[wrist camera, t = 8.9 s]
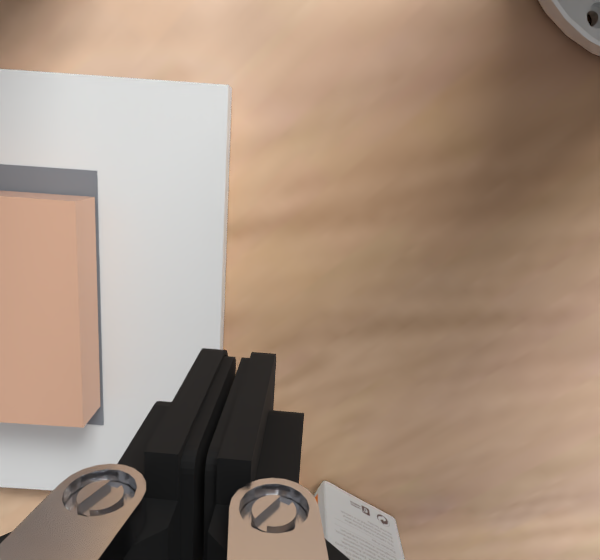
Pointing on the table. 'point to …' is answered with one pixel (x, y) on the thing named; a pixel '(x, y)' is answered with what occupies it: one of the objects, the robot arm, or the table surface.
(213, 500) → the robot arm
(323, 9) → the table surface
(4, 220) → the tile
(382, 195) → the table surface
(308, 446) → the table surface
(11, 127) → the mat
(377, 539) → the skincare box
